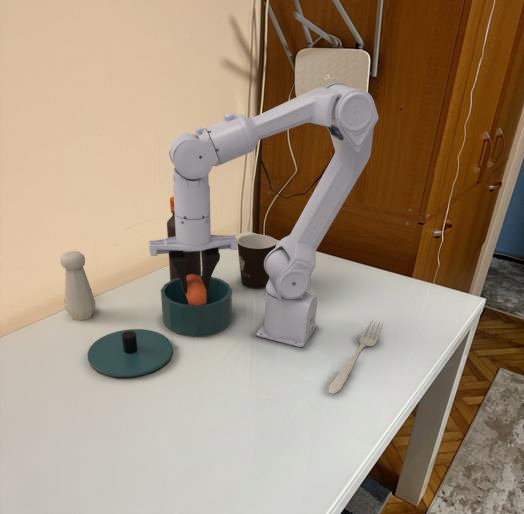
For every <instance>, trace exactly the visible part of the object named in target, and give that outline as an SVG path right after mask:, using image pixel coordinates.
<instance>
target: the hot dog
mask: <svg viewBox="0 0 524 514" xmlns="http://www.w3.org/2000/svg"><path fill="white" fill-rule="evenodd" d="M186 279H187V287H188V288H187V293H185V294H186V297H187V299H188V302H189V305H202V304H204V303H207V301H206V298H207V295H206V288H205V286H204V284H203V282H202V279H201V277H198V276H197V275H194V274H190V275H188V276H186Z"/></svg>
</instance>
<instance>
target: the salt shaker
mask: <svg viewBox="0 0 524 514" xmlns="http://www.w3.org/2000/svg"><path fill="white" fill-rule="evenodd" d="M59 261H60V265H61V266H62V268H63V269H65V271H64V273H65V274H64V278H65V279H64V310H65V311H66V312H67V313H68V314H69V316H70V318H72V319H71V320H76V321H84V320H88V319H90V318H92V315H93V314H94V311H95V308H96V299H95V297H94V294H93V291H92V287H91V285H90V282H89V279H88V276H87V274H86V272H85V271H86V270H85V268H84V266H85V264H86V258H85V255H84V254H83V253H82V252H81V251H76V250H75V251H74V250H73V251H72V250H71V251H65V252H64V253H62V254H61V255H60V260H59Z"/></svg>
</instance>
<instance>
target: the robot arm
mask: <svg viewBox="0 0 524 514" xmlns="http://www.w3.org/2000/svg"><path fill="white" fill-rule="evenodd" d="M223 117H224V120H221V121H218V122H215V123H214V124H211V125H209V126H207V127H204V128H203V127H202V126H198V127H195V128H194V131H195V133H190V132H186V133H181V134H180V135H178V136H176V137H175V139H174V140H173V141H172V143H171V145H170V150H169V151H168V155H169V159H170V161H171V163H172V164H173V166H174V167H173V174H172V178H173V179H172V180H173V185H172V186H173V188H172V191H173V192H172V193H173V196H174V212H175V229H176V236H175V237H170V238H168V237H165V238H161V239H154V240H148V252H149V256H150V257H157V256H158V255H163V254H164V255H165V254H168V258H169V257H170V259H171V262H172V264H173V265H174V267H175V269H176V271H177V273H178V275H179V277H180V281H181V286H182V290H183V293H187V288H188V287H187V279H186V263H187V262H186V259H185V255H184V252H192V251H201V276H202V282H203V284H204V286H205V288H206V291H208V288H209V283H210V279H211V277H213V274H214V271H215V269H216V267H217V265H218V264H219V262H220V259H221V253H220V250H231V251H238V245H237V239H238V238H237V236H236V235H235V234H231V235H230V234H229V235H227V234H226V235H225V234H212V233H211V231H212V230H211V190H210V189H211V186H210V183H209V174H210V173H211V171H212V169H213V167H218V166H221V165H224V164H226V163H228V162H231V161H234V160H236V159H238V158H240V157H243V156H245V155H247V154H250V153H253V152H254V151H255V150H256V148H257V145H258V143H259V141H260V140H262V139H266V138H268V137H271V136H273V135H274V136H275V135H276V134H279V133H282V132H285V131H288V130H290V129H293V128H296V127H299V126H301V125H305V124H309V123H310V124H314V125H319V126H323V127H325V128H326V129H327V131H328V132H329V134H330V137H331V138H330V139H331V141H332V145H333V148H334V154H333V156H332V158H331V160H330V162H329V163H328V165H327V167H326V168H325V171H324V172H323V173H322V176H321V178H320V180H319V181H318V183H317V184H316V186H315V188H314V191H313V192H312V194H311V196H310V197H309V200H308V201H307V203H306V204H305V206H304V208H303V210H302V212H301V214H300V215H299V218H298V219H297V221H296V223H295V225H294V227H293V228H292V230H291V232H290V234H288V235H286V236H285V237H283V238H281V239H280V240H279V242H278V244H277V245H276V248H275V249H273V250H272V251H271V252H270V253H269V254H268V255H267V256H266V258H265V261H264V269H265V271H266V273H267V274H268V275H269V276H270V277H269V281H268V283H267V285H266V287H265V298H264V299H265V300H264V303H265V304H264V319H263V321H264V322H263V325H262V326H261V327H260V328H259V329H258V331H256V332H255V335H256V337H259V338H263V339H267V340H271V341H275V342H278V343H283V344H285V345H290V346H294V347H297V348H304V346H305V345H306V344H307V342H308V341H309V340H310V338H311V336H312V335H313V333H314V332H315V330H316V318H317V308H318V297H317V296H316V295H315V294H314V295H313V294H311V293H309V292H308V290H309V288H310V286H311V280H312V274H313V272H314V270H315V269H316V265H317V262H316V255H317V250H318V248H319V246H320V245H321V243H322V241H323V239H324V238H325V236H326V234H327V232H328V231H329V230H330V227H331V226H332V224H333V222H334V221H335V219H336V217H337V215H338V213H339V212H340V210H341V209H342V207H343V205H344V203H345V202H346V200H347V198H348V196H349V195H350V193H351V191H352V190H353V188H354V186H355V185H356V183H357V181H358V180H359V178H360V176H361V174H362V172H363V170H364V169H365V167H366V165H367V164H368V162H369V160H370V158H371V155H372V146H373V138H374V129H375V127H376V124H377V122H378V121H379V119H380V118H379V113H378V111H377V107H376V104H375V100H374V98H373V97H372V95H371V94H370V93H369V92H368V91H366V90H365V89H362V88H354V87H352V86H348V85H346V84H344V83H341V82H332V83H329V84H327V85H326V86H325V87H324V86H320V87H316V88H313V89H312V90H309V91H307V92H305V93H302V94H300V95H298V96H296V97H293V98H291V99H290V100H288V101H285V102H284V103H282V104H279V105H277V106H275V107H273V108H271V109H268V110H266V111H265V112H262V113H260V114H258V115H256V116H254V117H251V118H250V117H248V116H246V115H245V114H243V113H238V114H236V115H235V114H234V113H233V112H229V113H226V114H223Z"/></svg>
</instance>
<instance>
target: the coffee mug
mask: <svg viewBox="0 0 524 514" xmlns="http://www.w3.org/2000/svg"><path fill="white" fill-rule="evenodd" d="M276 247H277V240H276V239H275V238H274V237H272V236H270V235H266V234H261V233H250V234H244V235H242V236H240V237H238V238H237V252H238V253H237V255H238V263H239V271H240V281H241V282H240V283H241V285H242V286H243V287H245V288H249V289H254V290H260V289H265V288H266V285H267V283H268V281H269V277H270V276H269V275H268V274H267V273H266V271H265V269H264V261H265V258H266V256H267V255H268V254H269V253H270V252H271V251H272V250H273V249H275V248H276Z"/></svg>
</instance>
